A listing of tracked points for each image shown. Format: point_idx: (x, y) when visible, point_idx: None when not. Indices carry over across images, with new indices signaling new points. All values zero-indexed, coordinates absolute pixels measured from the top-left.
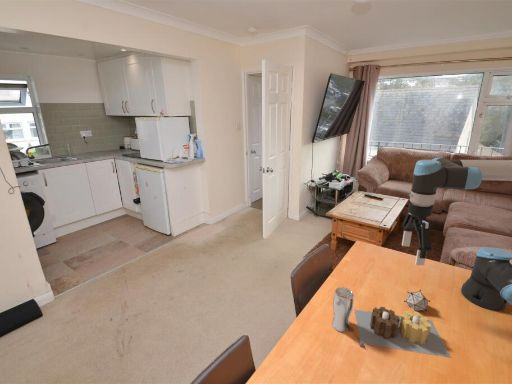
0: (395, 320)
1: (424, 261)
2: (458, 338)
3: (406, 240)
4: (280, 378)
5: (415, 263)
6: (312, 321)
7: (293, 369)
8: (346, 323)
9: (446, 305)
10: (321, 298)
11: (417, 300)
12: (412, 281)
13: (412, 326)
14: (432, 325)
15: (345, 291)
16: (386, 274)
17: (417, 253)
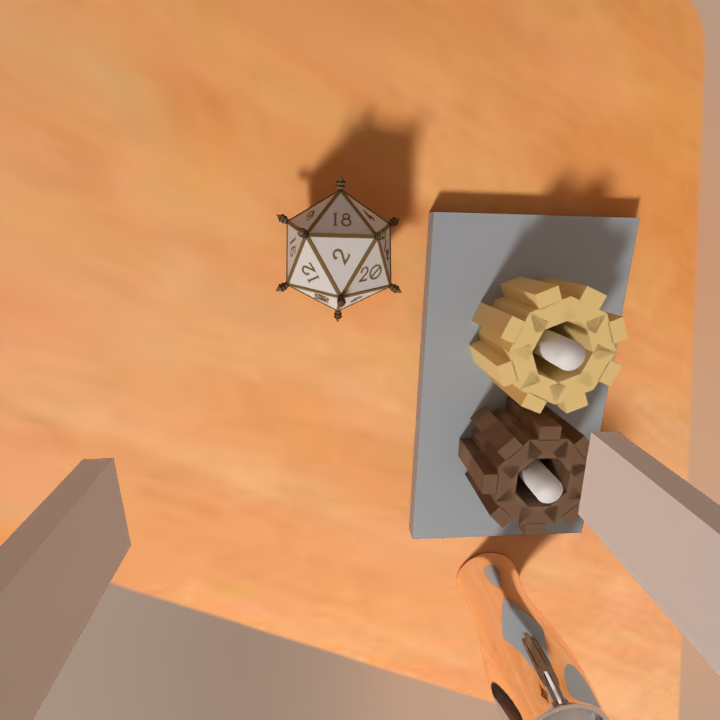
0: (569, 447)
1: (657, 465)
2: (510, 112)
3: (71, 583)
4: (676, 711)
5: (592, 520)
6: (475, 659)
7: (652, 688)
8: (522, 588)
9: (267, 42)
10: (344, 638)
11: (377, 272)
12: (61, 168)
13: (603, 382)
14: (469, 220)
15: (513, 711)
16: (36, 319)
17: (714, 650)
